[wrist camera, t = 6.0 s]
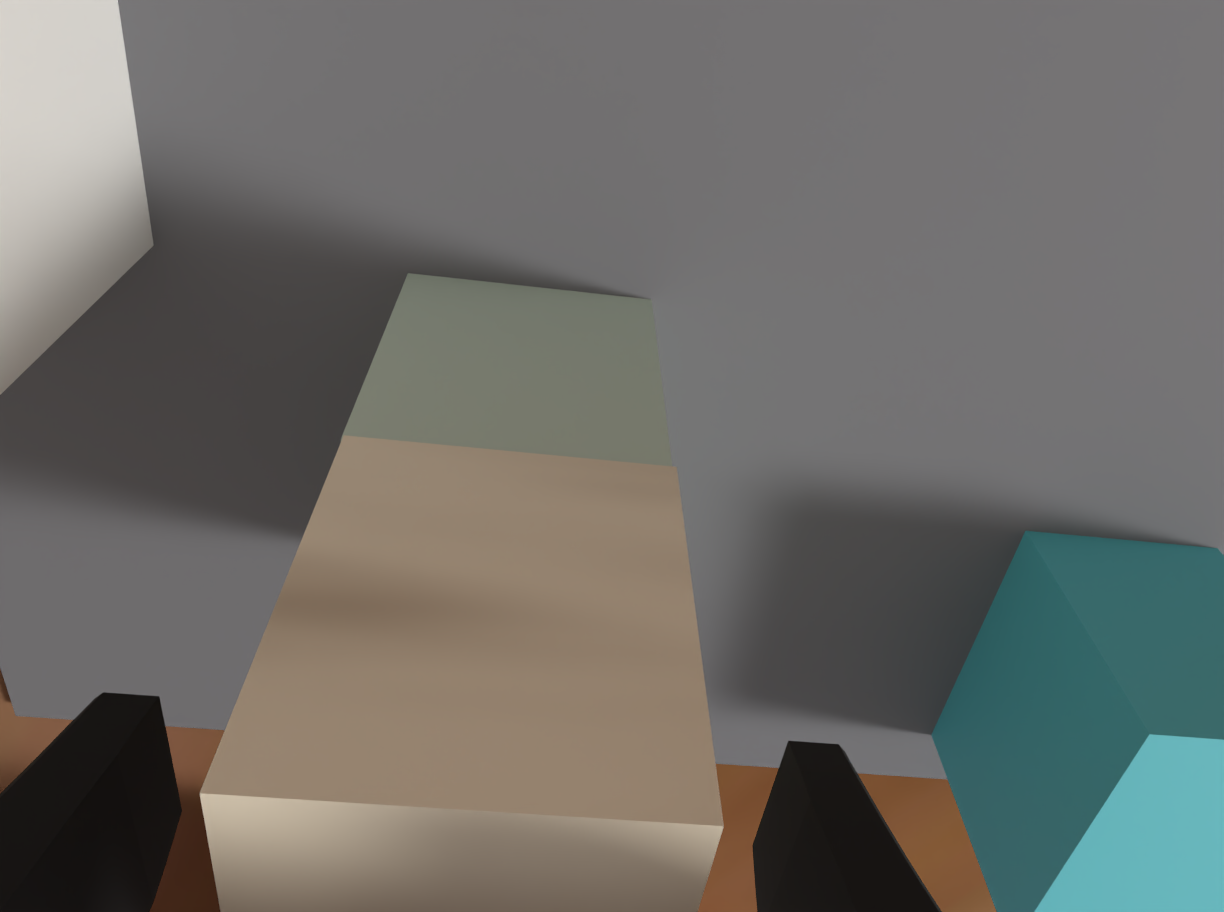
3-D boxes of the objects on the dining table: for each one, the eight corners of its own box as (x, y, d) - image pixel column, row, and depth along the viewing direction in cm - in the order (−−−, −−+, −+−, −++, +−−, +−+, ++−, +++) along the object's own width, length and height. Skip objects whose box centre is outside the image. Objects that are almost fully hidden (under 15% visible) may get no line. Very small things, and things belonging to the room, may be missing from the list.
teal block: (1096, 747, 22) (1211, 959, 18) (931, 734, 22) (1010, 948, 18) (1217, 548, 19) (1391, 751, 15) (1025, 530, 19) (1149, 734, 15)
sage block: (607, 574, 19) (612, 783, 15) (405, 557, 19) (353, 766, 15) (651, 299, 16) (672, 469, 12) (408, 272, 16) (340, 439, 11)
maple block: (614, 781, 15) (622, 1153, 11) (354, 764, 15) (261, 1140, 10) (676, 466, 12) (724, 826, 8) (343, 434, 11) (200, 793, 7)
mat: (1162, 784, 24) (1168, 794, 23) (22, 705, 21) (16, 715, 21) (1894, -276, 12) (1921, -278, 12) (-415, -690, 10) (-441, -702, 10)
